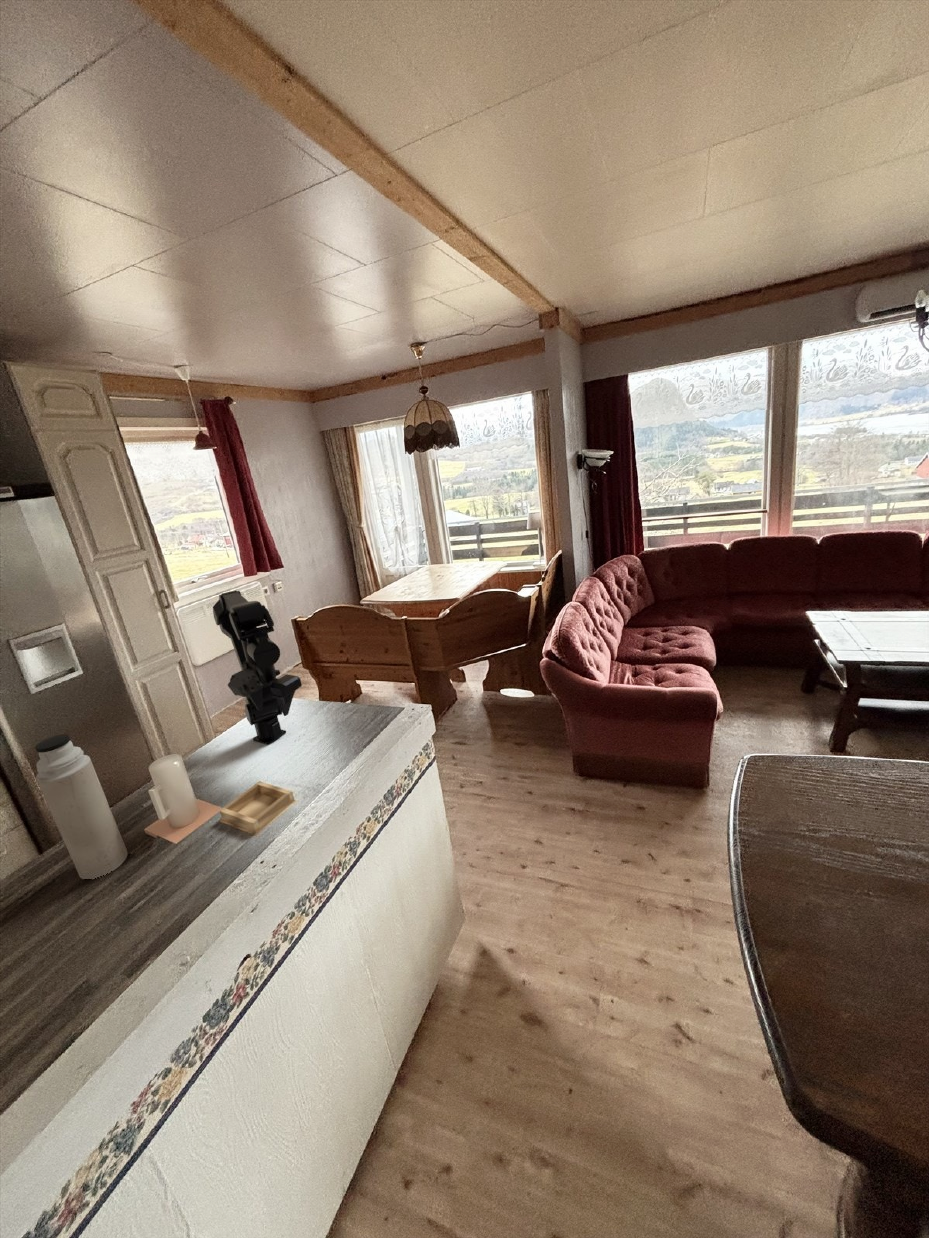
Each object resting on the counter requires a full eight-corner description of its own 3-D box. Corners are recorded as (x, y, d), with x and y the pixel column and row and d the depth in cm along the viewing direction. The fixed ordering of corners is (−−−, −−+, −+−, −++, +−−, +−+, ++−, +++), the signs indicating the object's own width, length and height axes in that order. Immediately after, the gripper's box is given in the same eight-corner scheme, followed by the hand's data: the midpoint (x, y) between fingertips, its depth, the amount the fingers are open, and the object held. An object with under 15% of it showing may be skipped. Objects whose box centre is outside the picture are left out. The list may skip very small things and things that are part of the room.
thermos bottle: (101, 848, 101) (51, 729, 92) (137, 847, 100) (90, 727, 91) (68, 880, 94) (11, 753, 85) (106, 880, 93) (52, 752, 84)
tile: (145, 833, 104) (144, 829, 104) (193, 800, 113) (191, 796, 113) (177, 847, 99) (175, 843, 99) (224, 812, 108) (223, 808, 108)
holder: (220, 824, 104) (216, 811, 103) (263, 792, 114) (259, 779, 113) (257, 839, 99) (253, 825, 98) (298, 803, 108) (295, 790, 107)
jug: (183, 807, 110) (164, 753, 105) (206, 808, 108) (187, 754, 104) (155, 834, 102) (132, 777, 98) (179, 836, 101) (158, 778, 96)
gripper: (203, 664, 115) (220, 722, 120) (258, 673, 107) (274, 735, 112) (242, 646, 125) (257, 701, 130) (296, 653, 116) (309, 712, 121)
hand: (273, 712), depth 123 cm, fingers open, 9 cm apart
